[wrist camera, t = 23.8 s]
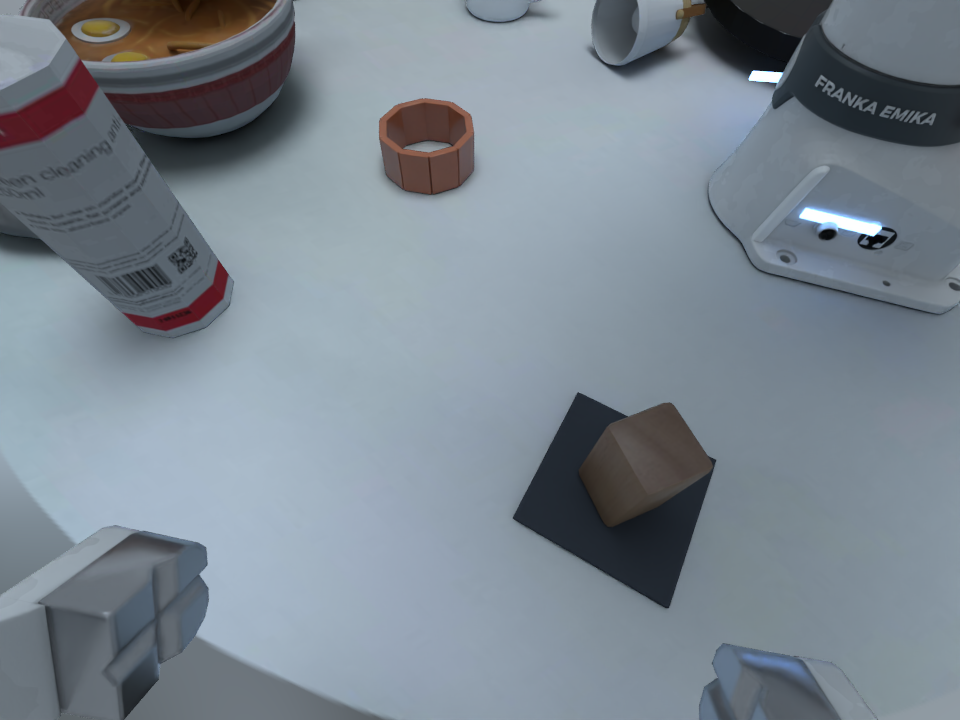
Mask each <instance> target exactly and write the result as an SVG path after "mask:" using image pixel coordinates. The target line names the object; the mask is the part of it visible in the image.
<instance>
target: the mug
mask: <svg viewBox="0 0 960 720" xmlns="http://www.w3.org/2000/svg"><path fill="white" fill-rule="evenodd" d="M538 1H541V0H466V4H467V7H468V9H469V11H470V12H471V13H472V14H473V15H474V16H476V17H478V18H480V19H483V20H487V21H493V22H505V21H511V20H515V19H517V18H519V17H521V16H522V15H524V14H525V13H526V11H527V10H528V8H529V3H531V2H538Z"/></svg>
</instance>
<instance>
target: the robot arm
mask: <svg viewBox="0 0 960 720" xmlns="http://www.w3.org/2000/svg"><path fill="white" fill-rule="evenodd" d="M749 81H763V82H777V85H776V87H775V92H774V94H773V97H772V101H771V103H770V104H769V106H768V107H767V109H766V110H765V112H764V113H763V115H762V116H761V118H760V119H759V120H758V122H757V123H756V124H755V126H754V127H753V129H752V130H751V131H750V133H749V134H748V135H747V136H746V138H745V139H744V140H743V142H742V143H741V144H740V145H739V146H738V148H737V149H736V150H735V151H734V152H733V153H732V155H731V156H730V157H729V158H728V159H727V160H726V161H725V162H724V163H723V164H722V165H721V166H720V167H719V168H718V169H717V170H716V171H715V172H714V174H713V175H712V177H711V179H710V182H709V188H708V192H709V199H710V202H711V205H712V207H713V209H714V211H715V213H716V214H717V216H718V217H719V219H720V220H721V221H722V222H723V224H724V225H725V226H726V227H727V228H728V229H729V230H730V231H731V232H732V233H733V234H734V235H735V236H736V237H737V238H738V239H739V240H740V241H741V242H742V244H743V246H744V248H745V250H746V253H747V255H748V257H749V258H750V260H751V262H752V263H753V264H754V265H755V266H756V267H757V268H758V269H760V270H762V271H764V272H768V273H772V274H776V275H780V276H784V277H788V278H792V279H796V280H800V281H804V282H808V283H812V284H816V285H820V286H825V287H829V288H833V289H837V290H841V291H845V292H849V293H853V294H857V295H861V296H865V297H869V298H873V299H877V300H882V301H886V302H890V303H894V304H898V305H902V306H906V307H910V308H914V309H918V310H922V311H927V312H931V313H937V314H942V313H944V312H946V311H948V310H950V309H951V308H953V307H954V306H955V305H957V304H958V303H959V302H960V0H833V1H832V3H831V4H830V6H829V8H828V9H827V10H825V11H824V12H822V13H821V14H819V15H818V16H817V18H816V19H815V21H814V22H813V24H812V25H811V27H810V29H809V30H808V32H807V34H804V36H803V38H802V39H801V41H800V43H799V45H798V46H797V48H796V50H795V52H794V53H793V55H792V57H791V59H790V60H789V62H788V64H787V66H786V68H785V70H784V71H783V73H778V72H764V71H752V73H751V75H750V77H749ZM207 565H208V563H207V551H206V547H205V546H203V545H201V544H200V543H197V542H193V541H188V540H184V539H179V538H175V537H170V536H166V535H161V534H156V533H152V532H147V531H139V530H135V529H130V528H126V527H121V526H117V525H114V526H109V527H105V528H102V529H100V530H99V531H97V532H96V533H94V534H93V535H91V536H90V537H88V538H87V539H85V540H84V541H82V542H81V543H79V544H77V545H76V546H74V547H73V548H71V549H70V550H68V551H67V552H65V553H64V554H62V555H61V556H59V557H58V558H56V559H55V560H53V561H52V562H50V563H49V564H47V565H46V566H44V567H43V568H41V569H39V570H38V571H37V572H35V573H33V574H32V575H30V576H29V577H27V578H26V579H24V580H23V581H21V582H20V583H18V584H17V585H15V586H14V587H12V588H11V589H9V590H8V591H6V592H5V593H3V594H2V595H0V720H57V719H58V718H60V716H61V713H64V714H71V715H75V716H80V717H86V718H91V719H97V720H124V719H125V718H126V717H127V715H128V714H129V713H130V712H131V711H132V710H133V708H134V707H135V706H136V705H137V704H138V703H139V701H140V700H141V699H142V698H143V697H144V696H145V695H146V693H147V692H148V691H149V690H150V689H151V687H152V686H153V685H154V684H155V683H156V682H157V681H158V680H159V671H160V664H161V663H163V662H165V661H167V660H169V659H171V658H173V657H174V656H176V655H178V654H180V653H182V651H183V650H184V649H185V648H186V647H187V645H188V644H189V643H190V642H191V641H192V639H193V638H194V637H195V635H196V633H197V631H198V629H199V627H200V626H201V624H202V622H203V620H204V618H205V615H206V610H207V606H208V602H209V593H208V587H207V585H206V584H205V582H204V581H203V579H202V578H201V577H200V575H199V574H200V573H201V572H202V571H203V570H204V568H205V567H206V566H207ZM712 665H713V667H714V670H715V672H716V675H717V677H718V678H717V679H715V680H714V681H712V682H711V683H709V684H708V685H706V686H705V687H704V690H703V693H702V697H701V700H700V704H699V720H878V719H877V717H876V716H875V715H874V713H873V712H872V711H871V709H870V708H869V706H868V705H867V704H866V702H865V701H864V699H863V698H862V697H861V695H860V694H859V693H858V691H857V690H856V688H855V687H854V686H853V684H852V683H851V682H850V680H849V679H848V677H847V676H846V675H845V673H844V672H843V671H842V670H841V669H840V668H839V667H837V666H836V665H835V664H833V663H832V662H828V661H822V660H817V659H811V658H805V657H799V656H790V655H785V654H780V653H774V652H769V651H763V650H758V649H752V648H747V647H741V646H736V645H730V644H725V643H723V644H722V645H721V646H720V647H719V648H718V649H717V650H716V653H715V656H714V659H713V662H712Z"/></svg>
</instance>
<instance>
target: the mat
mask: <svg viewBox="0 0 960 720" xmlns="http://www.w3.org/2000/svg"><path fill="white" fill-rule="evenodd" d="M626 417H628V416H626V415H624V414H622V413H620V412H618V411H616V410H614V409H612V408H609V407H607V406H605V405H603V404H601V403H599V402H597V401H595V400H593V399H591V398H589V397H587V396H585V395H583V394H581V393H579V392H578V393H577V395H576V397H575V399H574V401H573V403H572V405H571V407H570V409H569V411H568V413H567V414H566V416H565V418H564V420H563V422H562V424H561V426H560V428H559V430H558V432H557V434H556V436H555V438H554V440H553V441H552V443H551V445H550V447H549V449H548V451H547V453H546V455H545V457H544V459H543V461H542V463H541V465H540V467H539V468H538V470H537V472H536V474H535V476H534V478H533V480H532V482H531V484H530V486H529V488H528V490H527V492H526V494H525V495H524V497H523V499H522V501H521V503H520V505H519V507H518V509H517V511H516V513H515V515H514V517H513V519H515V520H516V521H518V522H520V523H521V524H523V525H525V526H526V527H528V528H530V529H532V530H533V531H535V532H537V533H538V534H540V535H542V536H544V537H545V538H547V539H549V540H550V541H552V542H554V543H556V544H557V545H559V546H561V547H562V548H564V549H566V550H568V551H569V552H571V553H573V554H574V555H576V556H578V557H580V558H581V559H583V560H585V561H586V562H588V563H590V564H592V565H593V566H595V567H597V568H598V569H600V570H602V571H603V572H605V573H607V574H609V575H610V576H612V577H614V578H615V579H617V580H619V581H621V582H622V583H624V584H626V585H627V586H629V587H631V588H633V589H634V590H636V591H638V592H639V593H641V594H643V595H645V596H646V597H648V598H650V599H651V600H653V601H655V602H657V603H658V604H660V605H662V606H663V607H665V608H669V606H670V603H671V600H672V597H673V594H674V590H675V587H676V584H677V581H678V578H679V575H680V572H681V569H682V566H683V562H684V559H685V556H686V553H687V550H688V547H689V544H690V541H691V538H692V534H693V531H694V528H695V525H696V522H697V519H698V516H699V513H700V510H701V507H702V503H703V500H704V497H705V494H706V491H707V488H708V485H709V482H710V479H711V475H712V472H713V469H714V466H715V463H716V460H715V459H713V458H711V457H709V456H708V457H709V459H710V460H711V462H712V465H713V468H712V469H711V471H710V472H709V473H708V474H706V475H705V476H703V477H702V478H700V479H699V480H697V481H696V482H694V483H693V484H691V485H690V486H688V487H687V488H685V489H684V490H682V491H681V492H679V493H678V494H676V495H675V496H673V497H672V498H670V499H669V500H667V501H666V502H665V503H663V504H662V505H660V506H659V507H657V508H654V509H652V510H650V511H648V512H645V513H643V514H641V515H638V516H636V517H634V518H632V519H629V520H627V521H625V522H623V523H620V524H618V525H616V526H614V527H607V526H606V525H605V524H604V522H603V520H602V519H601V517H600V515H599V513H598V511H597V509H596V507H595V505H594V503H593V501H592V499H591V497H590V495H589V493H588V491H587V489H586V487H585V485H584V483H583V481H582V479H581V477H580V475H579V469H580V467H581V466H582V464H583V463H584V461H585V460H586V458H587V456H588V455H589V453H590V452H591V450H592V449H593V447H594V446H595V444H596V443H597V441H598V440H599V438H600V437H601V435H602V434H603V432H604V431H605V429H606V428H607V427H608V426H609V424H611V423H613V422H616V421H619V420H621V419H624V418H626Z"/></svg>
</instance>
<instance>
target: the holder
mask: <svg viewBox="0 0 960 720" xmlns="http://www.w3.org/2000/svg"><path fill="white" fill-rule="evenodd" d="M379 140H380V145H381V150H382V155H383V161H384V166H385V171H386V175H387V176H388V177H389V178H390V179H391V180H392V181H394V182H395V183H396V184H397V185H398V186H400V187H401V188H402V189H405V190H406V191H412V192H419V193H425V194H432V193H433V194H436V193H439V192H443V191H446V190H450V189H453V188H457V187H458V186H461V184H462V183H463V182H464V181H465V180H466V179H467V178H468V177H469V175H470V174H471V173H472V172H473V171H474V129H473V123H472V117H471V116H470V114H469V113H468V112H466V111H465V110H463V109H462V108H460V107H459V106H457V105H456V104H454V103H453V102H452V103H451V102H449V101H441V100H434V99H427V98H425V99H423V98H422V99H418V100H414V101H409V102H405V103H401V104H398V106H397V105H395V106H394V107H393V108H392V109H391V110H390V111H389V112H387V113H386V114H385V115H384V116H383V117H382V118H380V120H379ZM425 140H433V141H440V142H447V143H450V144H452V145H453V146H452V147H448V148H444V149H440V150H437V151H433V152H429V153H427V152H421V151H414V150H407V149H403V148H404V147H405V146H406V145H410V144H413V143H417V142H421V141H425Z"/></svg>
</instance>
